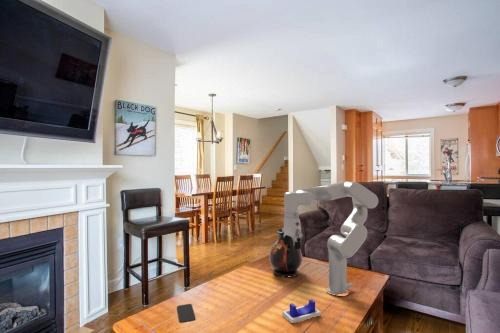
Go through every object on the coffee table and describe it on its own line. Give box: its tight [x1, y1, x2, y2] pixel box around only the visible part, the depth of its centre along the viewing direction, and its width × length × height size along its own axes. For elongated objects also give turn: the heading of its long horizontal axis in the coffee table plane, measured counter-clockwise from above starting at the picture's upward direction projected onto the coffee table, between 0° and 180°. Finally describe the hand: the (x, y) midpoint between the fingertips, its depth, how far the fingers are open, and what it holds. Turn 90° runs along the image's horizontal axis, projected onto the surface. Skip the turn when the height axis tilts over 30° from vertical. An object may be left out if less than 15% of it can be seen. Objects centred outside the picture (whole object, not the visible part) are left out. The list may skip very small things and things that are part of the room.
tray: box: [281, 305, 322, 324], centre depth 131 cm, size 16×8×2 cm, turn 115°
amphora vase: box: [268, 228, 303, 278], centre depth 183 cm, size 22×22×28 cm
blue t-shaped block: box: [289, 298, 316, 318], centre depth 131 cm, size 12×4×6 cm, turn 111°
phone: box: [176, 303, 196, 324], centre depth 133 cm, size 7×1×15 cm
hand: (291, 246), depth 150 cm, fingers open, 9 cm apart
